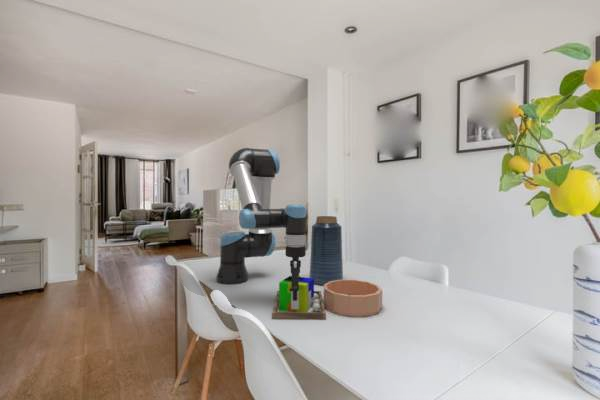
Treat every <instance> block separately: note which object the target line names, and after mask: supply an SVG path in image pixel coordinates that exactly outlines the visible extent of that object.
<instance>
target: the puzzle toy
mask: <svg viewBox="0 0 600 400" xmlns="http://www.w3.org/2000/svg"><path fill="white" fill-rule="evenodd" d="M291 285H292V275H288V276H287V277H286V278H284V279H283V280H280V281H279V283H278V291H279V303H278V310H279V311H281V312H309V311H310V309H311V308H312V306H313V304H312V302H313V300H314V291H315V284H314V279H313V278H309V277H303V276H299V309H291V291H289V289H291ZM294 287H296V286H294Z"/></svg>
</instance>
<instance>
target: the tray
mask: <svg viewBox="0 0 600 400" xmlns="http://www.w3.org/2000/svg"><path fill="white" fill-rule="evenodd" d="M314 293H317V294H318V296H319V300H320V306H321V309H320V312H319V311H318V312H315V311H307V312H289V311H278V309H279V290H277V292H276V296H275V299H274V304H273V308H272V312H271V318H272V320H327V311H326V308H325V307H324V297H323V293H322V291H321V290H314Z"/></svg>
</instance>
